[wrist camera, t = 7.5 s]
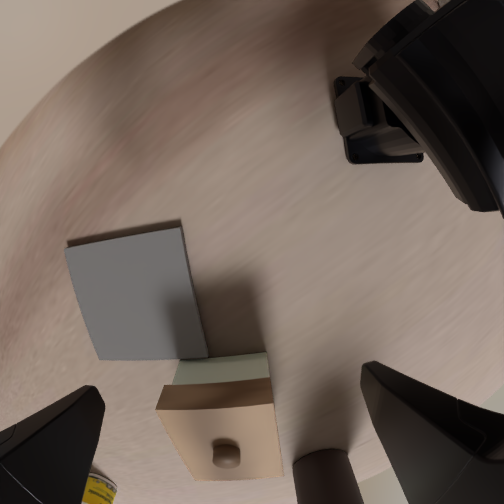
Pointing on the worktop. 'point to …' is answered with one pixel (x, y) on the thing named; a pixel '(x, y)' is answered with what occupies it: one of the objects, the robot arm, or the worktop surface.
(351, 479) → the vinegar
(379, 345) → the worktop surface
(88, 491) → the supplement bottle
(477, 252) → the worktop surface
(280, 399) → the worktop surface
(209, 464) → the cover
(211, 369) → the pale green box
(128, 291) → the mat
